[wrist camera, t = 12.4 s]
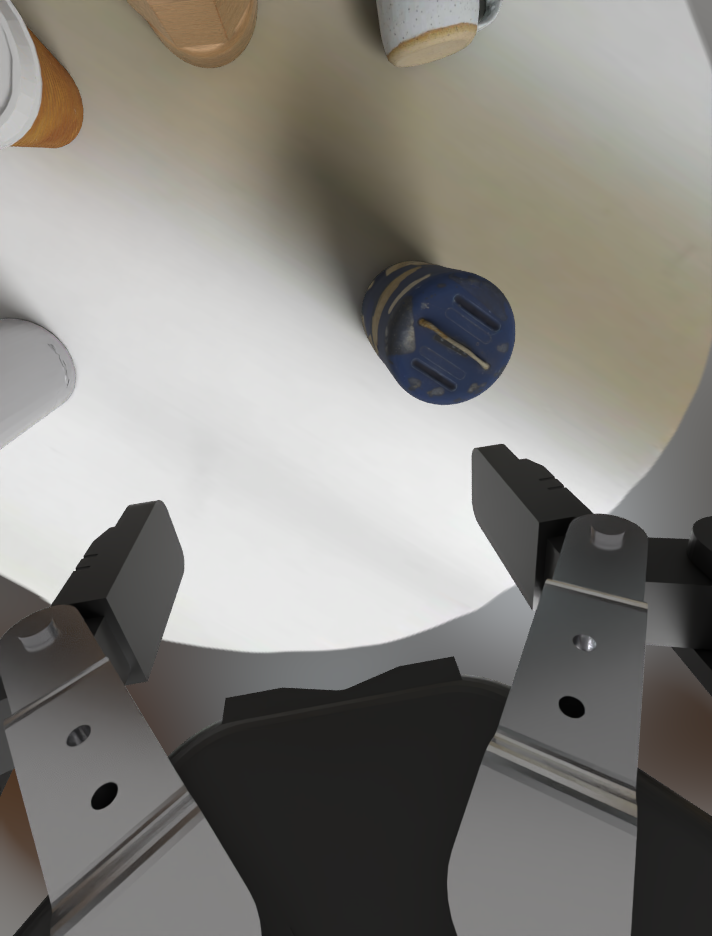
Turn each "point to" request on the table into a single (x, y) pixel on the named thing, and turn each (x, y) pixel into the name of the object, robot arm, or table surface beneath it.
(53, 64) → the disposable coffee cup
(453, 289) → the canister
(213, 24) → the wooden pitcher
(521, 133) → the table surface
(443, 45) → the ceramic mug
